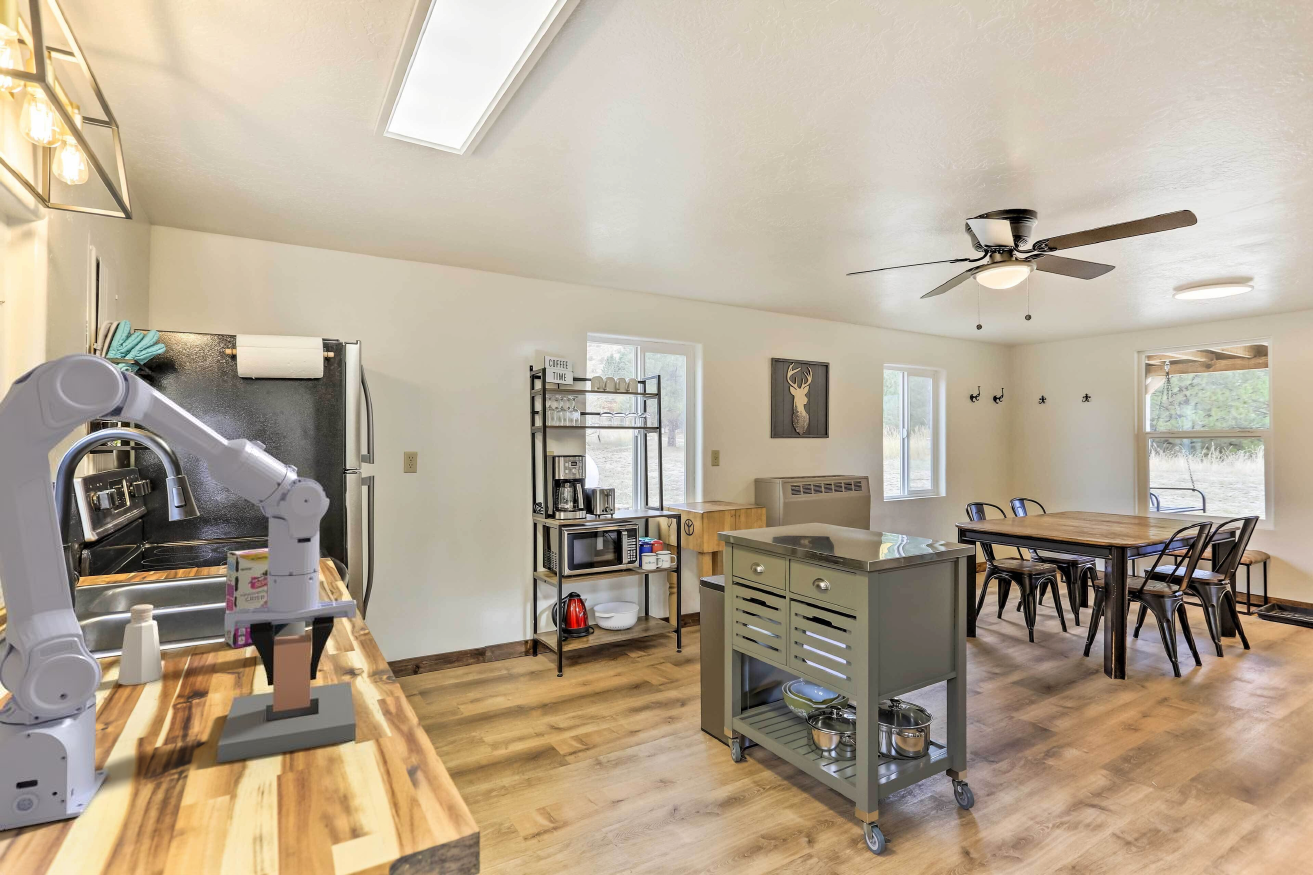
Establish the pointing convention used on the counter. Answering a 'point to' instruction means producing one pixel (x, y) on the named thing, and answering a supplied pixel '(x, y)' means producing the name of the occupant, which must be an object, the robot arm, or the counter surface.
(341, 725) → the socket block
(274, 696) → the terracotta peg
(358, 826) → the counter surface
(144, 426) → the robot arm
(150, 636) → the pepper shaker
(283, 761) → the counter surface
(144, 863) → the counter surface
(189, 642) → the counter surface
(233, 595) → the candy bar box
